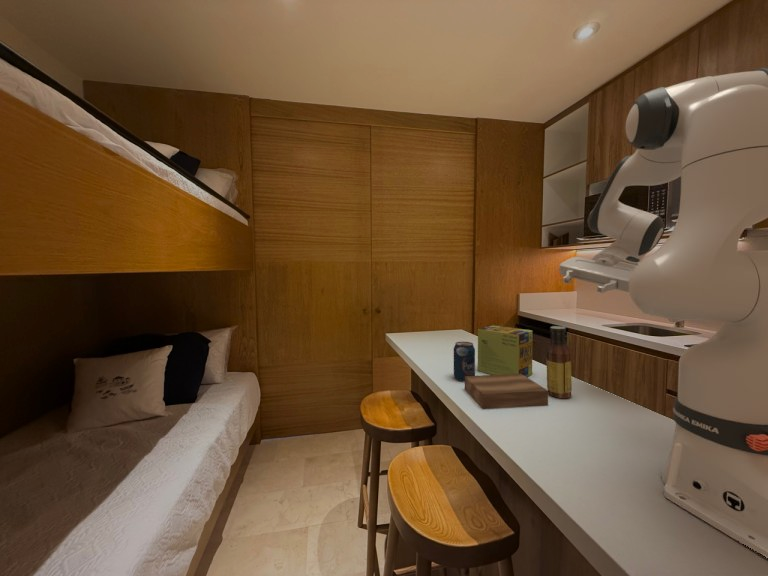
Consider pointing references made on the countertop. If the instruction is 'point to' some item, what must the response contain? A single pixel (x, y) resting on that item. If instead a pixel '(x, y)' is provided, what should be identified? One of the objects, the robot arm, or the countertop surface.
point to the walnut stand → (505, 391)
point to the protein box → (505, 350)
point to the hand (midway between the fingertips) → (582, 285)
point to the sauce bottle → (558, 364)
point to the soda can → (464, 360)
